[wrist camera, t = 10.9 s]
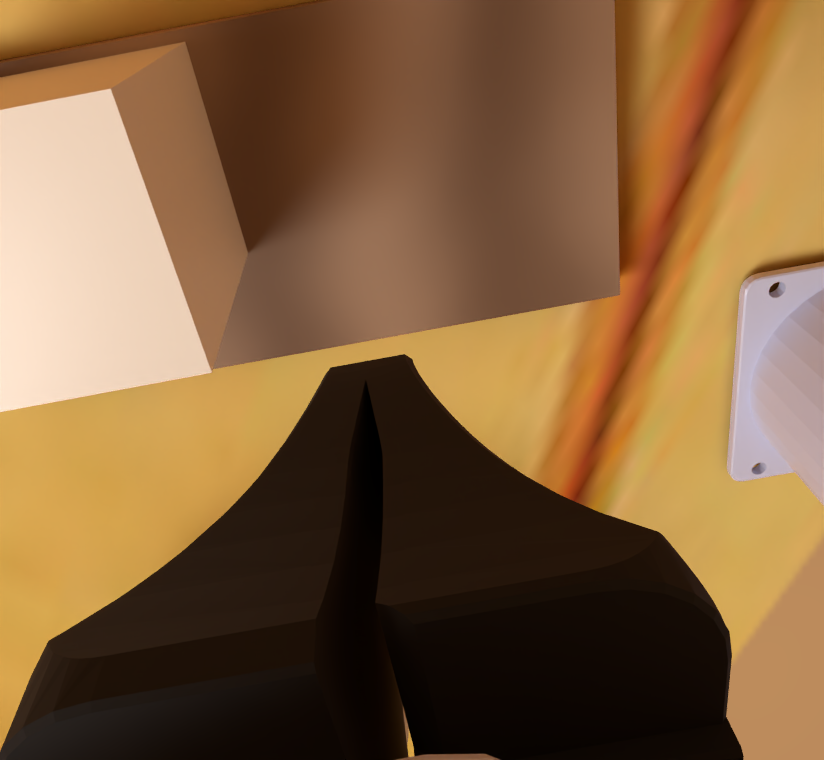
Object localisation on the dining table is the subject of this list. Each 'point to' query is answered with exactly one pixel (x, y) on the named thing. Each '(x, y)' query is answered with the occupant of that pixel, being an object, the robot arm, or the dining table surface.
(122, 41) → the stand
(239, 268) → the tan rectangular block
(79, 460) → the dining table surface
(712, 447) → the dining table surface
